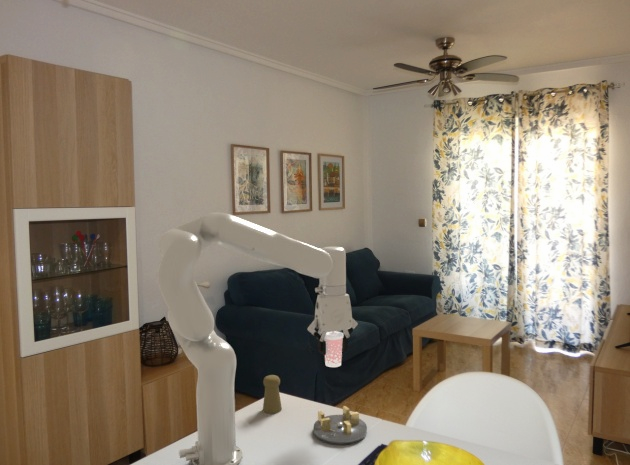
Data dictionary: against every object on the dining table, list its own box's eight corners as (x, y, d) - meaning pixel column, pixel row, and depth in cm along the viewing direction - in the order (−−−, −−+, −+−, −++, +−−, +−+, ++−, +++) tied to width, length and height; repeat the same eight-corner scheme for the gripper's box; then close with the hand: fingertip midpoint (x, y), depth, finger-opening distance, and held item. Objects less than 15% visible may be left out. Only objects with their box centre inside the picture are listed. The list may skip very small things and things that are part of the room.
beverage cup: (342, 368, 143) (341, 320, 142) (320, 367, 144) (320, 319, 143) (345, 361, 149) (345, 314, 148) (324, 360, 150) (324, 313, 149)
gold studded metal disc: (376, 438, 140) (376, 422, 140) (326, 449, 134) (326, 432, 134) (351, 416, 154) (351, 401, 154) (305, 425, 148) (305, 410, 148)
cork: (270, 416, 155) (269, 381, 154) (258, 410, 159) (258, 376, 159) (285, 410, 159) (285, 376, 158) (273, 404, 164) (273, 371, 163)
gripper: (309, 295, 138) (310, 360, 139) (365, 290, 144) (365, 351, 146) (299, 290, 145) (300, 352, 146) (353, 285, 151) (353, 344, 153)
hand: (333, 351), depth 146 cm, fingers closed on beverage cup, 6 cm apart
